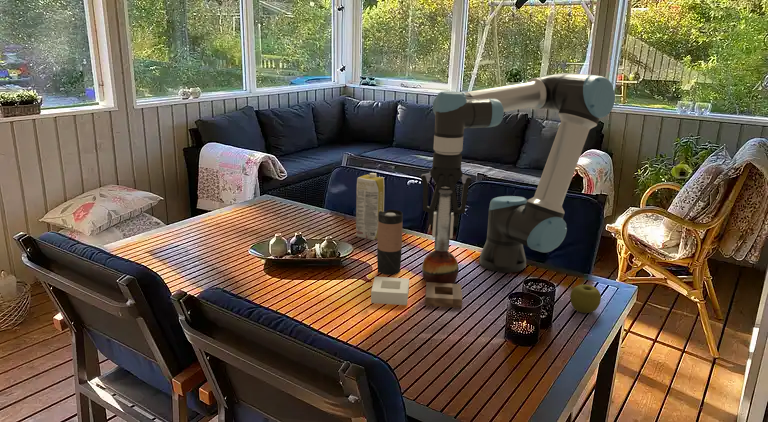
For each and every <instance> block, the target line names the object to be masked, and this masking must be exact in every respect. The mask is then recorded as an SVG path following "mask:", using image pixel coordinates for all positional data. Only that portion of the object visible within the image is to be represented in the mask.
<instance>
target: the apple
mask: <svg viewBox="0 0 768 422" xmlns="http://www.w3.org/2000/svg"><path fill="white" fill-rule="evenodd" d="M601 295H602V294H601V293H600V290H599V289H598V288H597V287H595V286H593V285H590V284H578V285H576V286H575V287H573V288H572V290H571V292H570V295H569V296H570V297H569V299H570V304H571V306H572V308H573V310H575V311H577V312H579V313H581V314H591V313H593V312H595V311H596V310H597V309H598V307H600V304H601V301H602V296H601Z"/></svg>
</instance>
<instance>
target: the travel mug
mask: <svg viewBox="0 0 768 422" xmlns="http://www.w3.org/2000/svg"><path fill="white" fill-rule="evenodd" d="M403 215H404V214H403V212H402V211H401V210H399V209H398V210H397V209H387V210H386V211H385V210H384V212H382V211H379V214H378V238H377V244H376V245H377V247H376V249H377V250H376V251H377V254H376V256H377V257H376V258H377V263H376V264H377V267H376V268H377V274H380V275H381V274H382V275H386V276H391V275H392V276H394V275H398V274H400V272H401V267H402V265H401V263H402V247H403V219H404V218H403Z"/></svg>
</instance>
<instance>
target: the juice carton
mask: <svg viewBox="0 0 768 422" xmlns="http://www.w3.org/2000/svg"><path fill="white" fill-rule="evenodd" d="M355 191H356V194H355V195H356V196H355V197H356V199H355V200H356V202H355V205H356V206H355V207H356V209H355V212H356V213H355V228H356V229H355V231H356V233H355V234H356V237H358V238H362V239H366V240H370V241H375V240H378V214H379V211H382V212H385V177H383V176H377V173H376V172H375V173H374V172H370V173H369V174H364V175H360V176H359V177H357V178H356V190H355Z"/></svg>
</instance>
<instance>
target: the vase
mask: <svg viewBox="0 0 768 422" xmlns="http://www.w3.org/2000/svg"><path fill="white" fill-rule="evenodd" d="M459 269H460V268H459V262H458V260H457V258H456V256H455V255H454V254H452V253H451V252H450V251H449V250H448V251H438V250H435V249H434V250H432V251H431V252H428V254H427V255H426V256H425V257H424V259H423V261H422V265H421V271H422V272H421V273H422V277H423V279H424V281H425V282H432V283H448V284H455V282H456V280H457V279H458V275H459Z"/></svg>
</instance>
